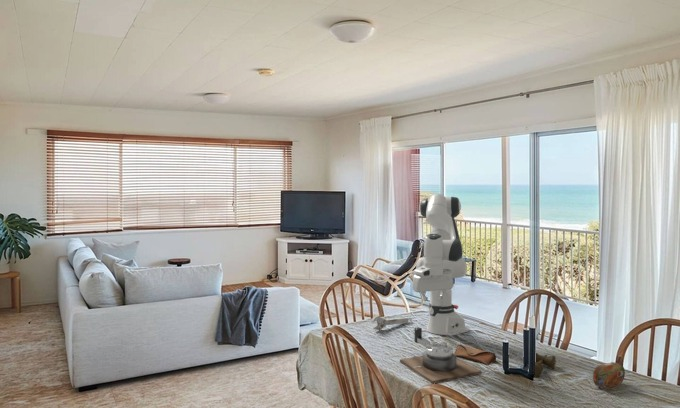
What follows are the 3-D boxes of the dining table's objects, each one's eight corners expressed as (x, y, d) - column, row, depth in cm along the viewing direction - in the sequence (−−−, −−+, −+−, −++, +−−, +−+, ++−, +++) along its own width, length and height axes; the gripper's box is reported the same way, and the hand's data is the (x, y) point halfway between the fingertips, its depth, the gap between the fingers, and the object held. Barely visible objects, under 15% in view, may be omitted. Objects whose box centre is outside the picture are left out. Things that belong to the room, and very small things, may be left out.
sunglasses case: (450, 355, 212) (453, 341, 215) (455, 359, 217) (459, 345, 220) (489, 365, 201) (492, 350, 204) (494, 369, 206) (497, 354, 209)
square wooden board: (445, 353, 215) (445, 342, 215) (481, 373, 194) (481, 361, 193) (399, 361, 205) (399, 350, 205) (432, 383, 184) (432, 370, 183)
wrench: (411, 327, 263) (372, 332, 244) (408, 326, 265) (370, 331, 245) (412, 313, 263) (373, 316, 244) (410, 312, 265) (371, 315, 246)
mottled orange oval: (598, 390, 178) (598, 368, 177) (590, 387, 181) (591, 365, 180) (625, 383, 184) (626, 362, 183) (617, 380, 187) (618, 359, 186)
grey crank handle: (458, 357, 196) (458, 341, 196) (436, 361, 192) (436, 345, 192) (426, 340, 218) (426, 326, 217) (405, 343, 213) (405, 329, 213)
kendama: (521, 375, 193) (534, 358, 209) (546, 381, 188) (558, 364, 204) (522, 360, 193) (535, 345, 209) (547, 367, 187) (558, 351, 203)
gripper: (447, 267, 223) (447, 296, 223) (410, 270, 214) (410, 300, 215) (456, 269, 217) (455, 299, 218) (418, 272, 209) (418, 303, 209)
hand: (433, 300), depth 216 cm, fingers open, 7 cm apart
